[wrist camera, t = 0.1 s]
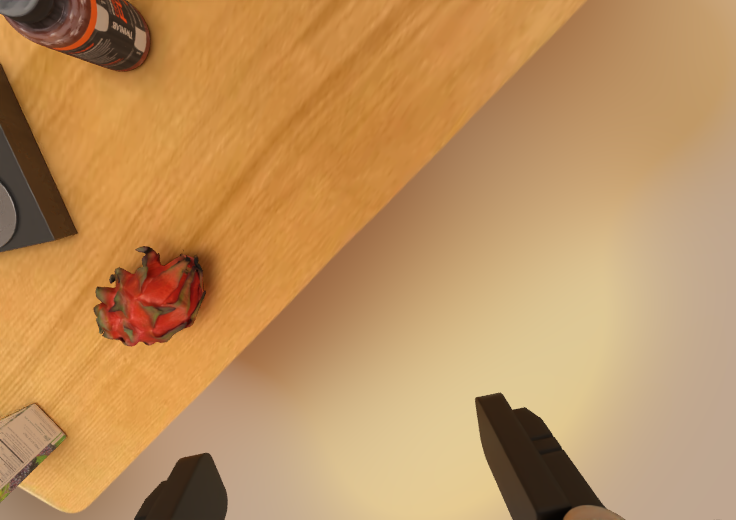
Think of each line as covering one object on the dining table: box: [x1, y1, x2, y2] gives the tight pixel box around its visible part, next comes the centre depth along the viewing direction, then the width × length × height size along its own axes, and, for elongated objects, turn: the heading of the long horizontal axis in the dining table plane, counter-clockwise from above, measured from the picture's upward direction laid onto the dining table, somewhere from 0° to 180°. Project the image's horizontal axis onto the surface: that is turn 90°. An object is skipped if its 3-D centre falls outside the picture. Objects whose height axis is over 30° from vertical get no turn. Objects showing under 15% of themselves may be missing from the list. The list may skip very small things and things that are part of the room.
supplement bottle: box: [0, 0, 150, 71], centre depth 27 cm, size 6×6×11 cm
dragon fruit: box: [94, 246, 206, 346], centre depth 36 cm, size 8×8×12 cm
